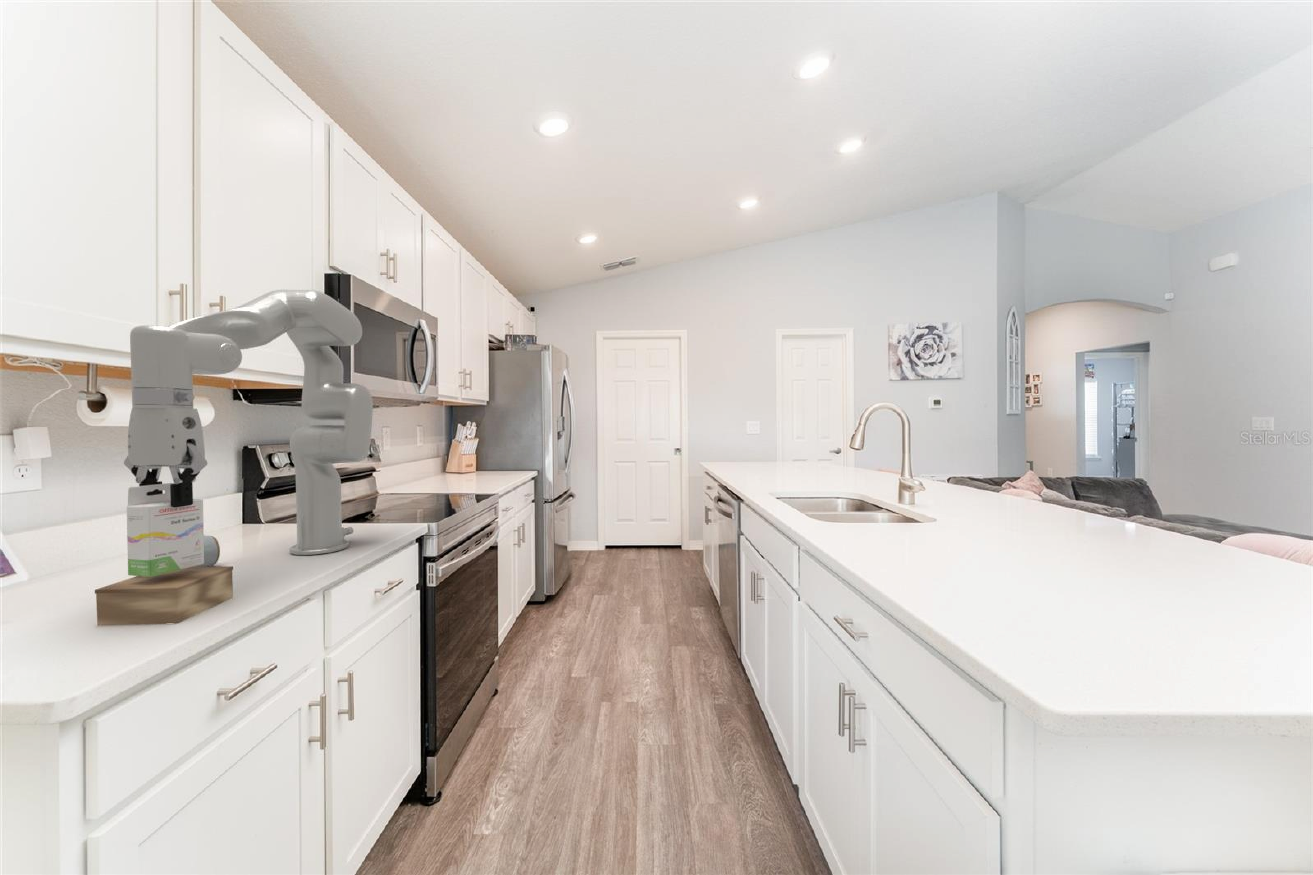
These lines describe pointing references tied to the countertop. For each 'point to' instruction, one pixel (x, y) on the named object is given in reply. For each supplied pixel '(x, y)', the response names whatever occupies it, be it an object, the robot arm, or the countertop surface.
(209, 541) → the ceramic mug
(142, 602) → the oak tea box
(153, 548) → the ink box
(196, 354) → the robot arm
